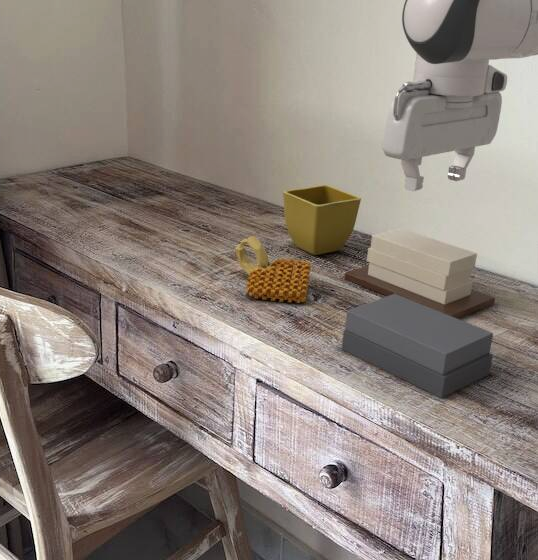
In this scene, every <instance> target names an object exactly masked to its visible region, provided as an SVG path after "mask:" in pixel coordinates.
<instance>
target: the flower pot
mask: <svg viewBox="0 0 538 560" xmlns="http://www.w3.org/2000/svg"><path fill="white" fill-rule="evenodd" d="M282 194H283V195H282V196H283V211H284V221H285V226H286V230H287V232H288V235H289V237H290V238H291V240H292V242H293V244H294V246H295V247H297V248H299V249H301V250H303V251H305V252H307V253H309V254H311V255H313V256H319V255H324V254H329V253H333V252H338V251H340V250H341V249H342V248H343V247H344V246H345V244H346V243H347V242H348V240H349V238H351V235H352V233H353V231H354V228H355V225H356V221H357V218H358V213H359V210H360V205H361V200H362V198H361V197H360V196H357V195H356V194H355V195H354V194H352V193H349V192H348V191H347V192H346V191H343V190H342V189H339V188H336V187H334V186H331V185H327V184H320V185H316V186H315V185H314V186H309V187H304V188H303V187H302V188H295V189H289V190H284V191H282Z"/></svg>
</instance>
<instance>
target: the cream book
mask: <svg viewBox="0 0 538 560" xmlns="http://www.w3.org/2000/svg"><path fill="white" fill-rule="evenodd" d="M370 248H371V249H374V250H377V251H380V252H382V253H385V254H388V255H391V256H393V257H396V258H399V259H402V260H404V261H407V262H410V263H413V264H416V265H418V266H421V267H424V268H427V269H429V270H432V271H435V272H438V273H440V274H443V275H446V276H451V275H454V274H457V273H460V272H462V271H465V270H468V269H471V268H472V269H473V268H475V267H476V263H477V258H478V257H477V256H478V253H477V252H474V251H471V250H467V249H465V248H462V247H459V246H455V245H452V244H450V243H446V242H444V241H440V240H437V239H435V238H432V237H428V236H425V235H422V234H419V233H416V232H412V231H410V230H407V229H404V228H401V227H396V228H392V229H390V230H389V229H388V230H386V231H382V232H379V233H375V234H374V233H373V234H372V235H371V241H370Z"/></svg>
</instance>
